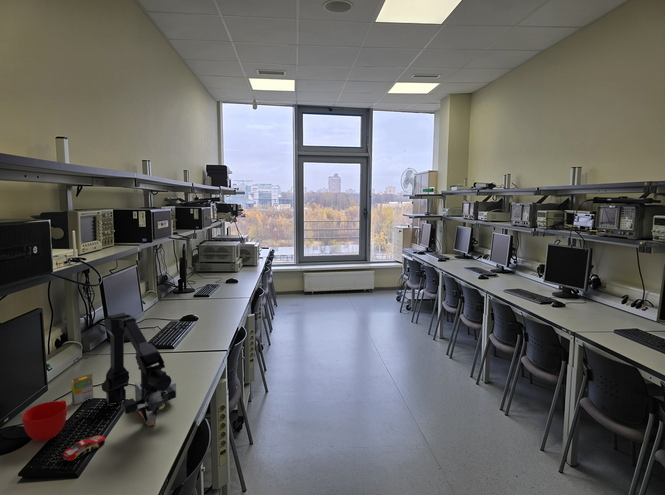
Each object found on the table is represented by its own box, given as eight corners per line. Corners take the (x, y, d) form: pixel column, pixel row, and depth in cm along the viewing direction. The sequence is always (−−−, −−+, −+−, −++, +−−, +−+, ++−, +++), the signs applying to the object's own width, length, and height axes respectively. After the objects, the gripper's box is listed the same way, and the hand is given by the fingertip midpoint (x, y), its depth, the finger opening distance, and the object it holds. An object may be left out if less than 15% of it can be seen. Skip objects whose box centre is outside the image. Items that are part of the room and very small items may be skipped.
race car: (99, 438, 139) (98, 428, 139) (108, 443, 137) (108, 433, 136) (60, 459, 127) (59, 448, 127) (70, 465, 125) (69, 454, 124)
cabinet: (144, 414, 155) (144, 393, 154) (135, 403, 163) (135, 383, 162) (176, 403, 164) (176, 383, 163) (166, 393, 172) (165, 374, 171)
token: (154, 412, 157) (154, 409, 157) (150, 407, 161) (149, 404, 160) (166, 408, 161) (166, 405, 160) (162, 403, 164) (162, 400, 164)
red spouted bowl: (82, 419, 149) (81, 396, 148) (52, 447, 133) (50, 421, 131) (48, 419, 149) (47, 395, 148) (14, 447, 132) (12, 420, 131)
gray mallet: (148, 426, 146) (148, 417, 146) (135, 410, 157) (135, 401, 156) (155, 423, 148) (155, 415, 148) (142, 407, 159) (142, 399, 158)
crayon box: (91, 396, 167) (90, 371, 166) (93, 398, 165) (92, 373, 164) (71, 402, 161) (70, 376, 160) (74, 405, 160) (73, 379, 158)
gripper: (129, 398, 134) (131, 439, 136) (181, 382, 147) (182, 419, 149) (120, 386, 142) (121, 425, 144) (170, 372, 155) (170, 408, 157)
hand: (150, 419), depth 149 cm, fingers closed on gray mallet, 3 cm apart
